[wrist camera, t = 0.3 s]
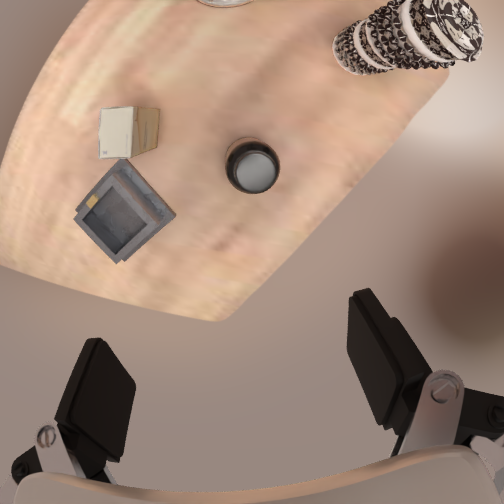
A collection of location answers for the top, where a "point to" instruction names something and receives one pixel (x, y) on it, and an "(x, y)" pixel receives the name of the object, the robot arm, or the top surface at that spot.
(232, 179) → the supplement bottle
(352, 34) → the decorative candle
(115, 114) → the skincare box
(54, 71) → the top surface
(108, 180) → the socket
